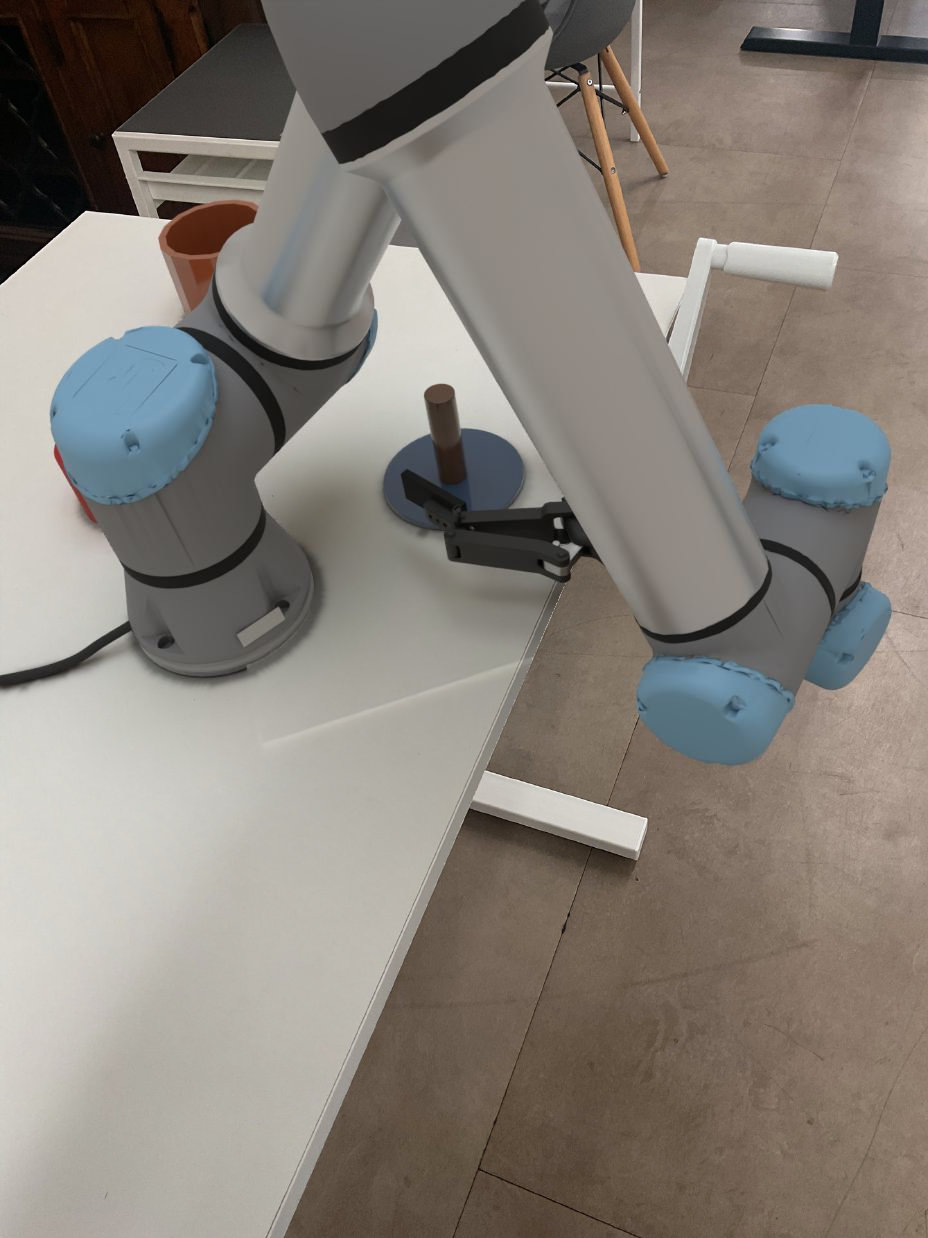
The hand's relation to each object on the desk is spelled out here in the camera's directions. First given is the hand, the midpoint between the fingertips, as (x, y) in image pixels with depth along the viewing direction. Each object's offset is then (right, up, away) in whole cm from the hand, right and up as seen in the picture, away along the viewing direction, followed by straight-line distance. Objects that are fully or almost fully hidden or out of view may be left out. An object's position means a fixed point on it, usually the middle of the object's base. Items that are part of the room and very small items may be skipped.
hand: (462, 437), depth 85 cm
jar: (-25, +20, +29) cm, 43 cm away
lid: (-1, -3, +5) cm, 6 cm away
